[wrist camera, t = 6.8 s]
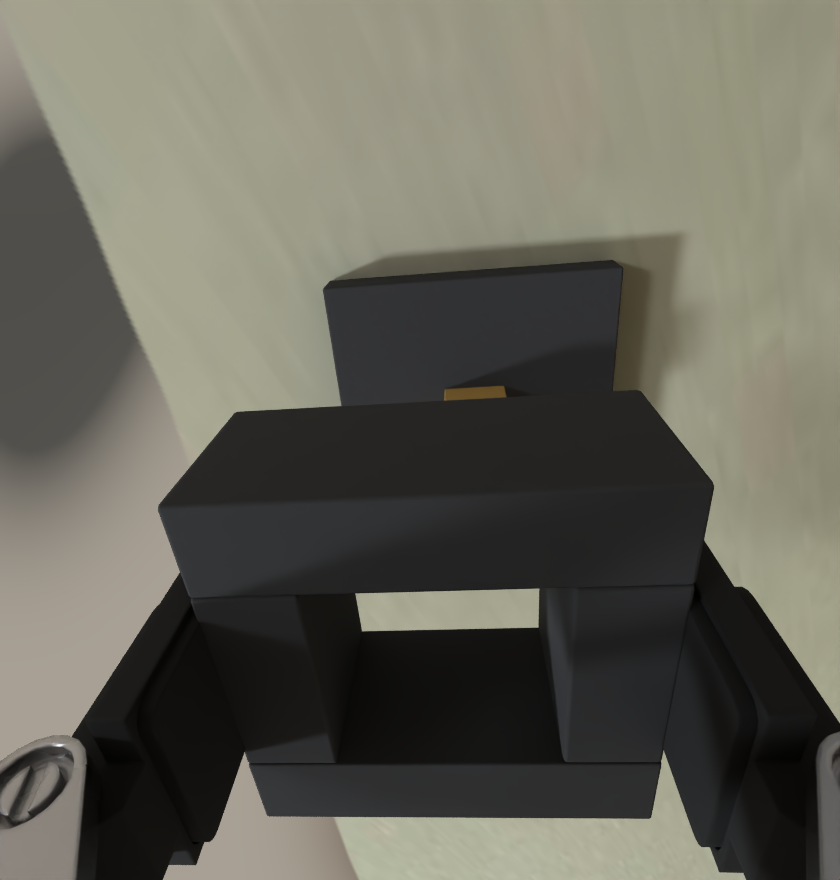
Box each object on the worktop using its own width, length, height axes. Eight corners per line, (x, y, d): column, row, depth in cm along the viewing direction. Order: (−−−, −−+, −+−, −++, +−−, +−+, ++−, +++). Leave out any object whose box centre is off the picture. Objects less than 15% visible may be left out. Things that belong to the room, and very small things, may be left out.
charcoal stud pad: (329, 280, 24) (305, 307, 20) (614, 259, 23) (649, 283, 19) (364, 509, 29) (351, 566, 25) (594, 499, 28) (618, 557, 25)
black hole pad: (234, 410, 10) (153, 506, 7) (641, 387, 9) (718, 483, 7) (304, 681, 13) (266, 817, 10) (608, 676, 12) (651, 820, 10)
